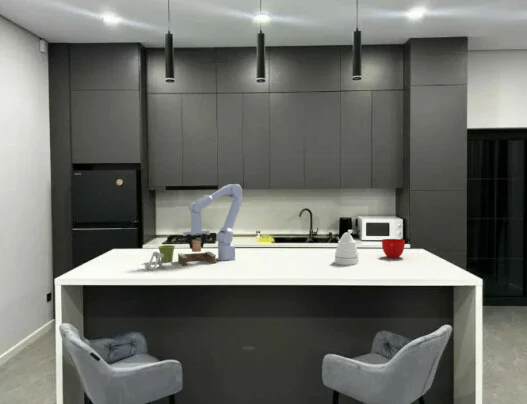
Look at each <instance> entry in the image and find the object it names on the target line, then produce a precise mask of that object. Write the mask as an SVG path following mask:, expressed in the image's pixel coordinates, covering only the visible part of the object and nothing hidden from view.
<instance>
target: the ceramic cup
mask: <svg viewBox="0 0 527 404" xmlns="http://www.w3.org/2000/svg"><path fill="white" fill-rule="evenodd" d="M405 241H406V240H404V239H401V238H400V239H398V238H384V239H381V246H382V248H381V249H382V251H383V253H384V254H385V256H386V257H387V258H390V259H398V258H400V257H401V256H402V255H403V252H404V251H405V243H406V242H405Z"/></svg>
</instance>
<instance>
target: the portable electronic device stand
mask: <svg viewBox="0 0 527 404" xmlns="http://www.w3.org/2000/svg"><path fill="white" fill-rule="evenodd" d="M163 256H164V255H163V254H161V253H160V252H157V251H153V252H152V255H151V258H150V260H149V263H148V264H144V269H147V270H150V271H152V272H154V271H155V270H156V268H157V266H159V268H160V269H161V268H162V269H165V267H164V265H163V262H161V258H163ZM154 257H155V262H154V265H153V266H151V265H152V263H153V259H154Z"/></svg>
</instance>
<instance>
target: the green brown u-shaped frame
mask: <svg viewBox="0 0 527 404" xmlns="http://www.w3.org/2000/svg"><path fill="white" fill-rule="evenodd" d="M216 256H217V254H215V253H213V252H212V251H208V250H207V251H205V252H193V253H183V252H181V253H179V252H178V253H177V262H179V264H180V265H182V266H187V265H188V263H187V262H196V261H197V262H199V261H200V262H202V261H208V262H209V263H211V264H216V260H217V259H216V258H217V257H216Z"/></svg>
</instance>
